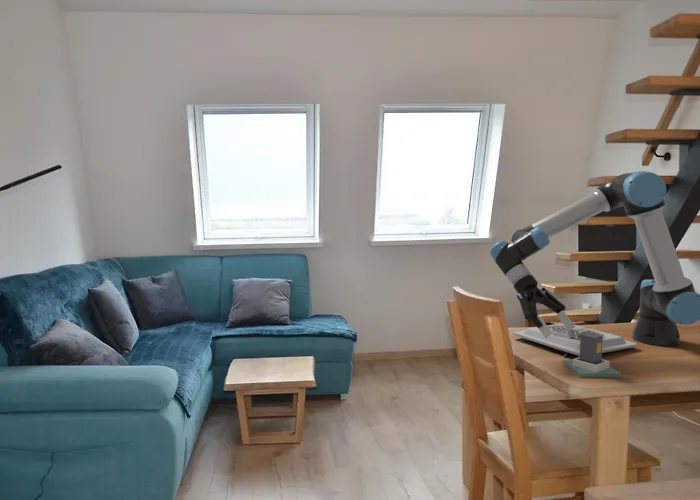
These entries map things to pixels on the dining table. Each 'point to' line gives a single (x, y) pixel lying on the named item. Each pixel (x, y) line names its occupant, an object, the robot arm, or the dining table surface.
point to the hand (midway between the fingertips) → (560, 332)
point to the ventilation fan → (572, 338)
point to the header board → (592, 374)
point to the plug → (591, 348)
